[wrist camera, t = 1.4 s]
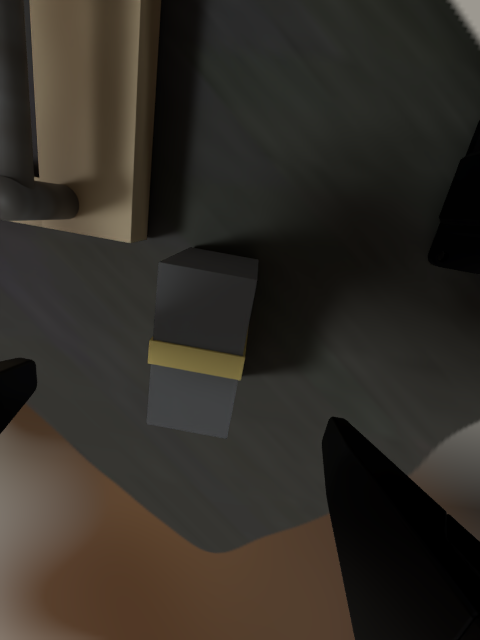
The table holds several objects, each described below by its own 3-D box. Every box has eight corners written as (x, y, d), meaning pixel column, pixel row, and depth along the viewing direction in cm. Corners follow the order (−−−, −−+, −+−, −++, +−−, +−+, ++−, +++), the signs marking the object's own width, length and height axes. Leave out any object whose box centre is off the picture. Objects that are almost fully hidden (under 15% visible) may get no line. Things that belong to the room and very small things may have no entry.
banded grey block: (260, 259, 15) (259, 281, 10) (237, 378, 18) (228, 440, 13) (188, 246, 15) (155, 262, 10) (175, 367, 18) (143, 424, 13)
